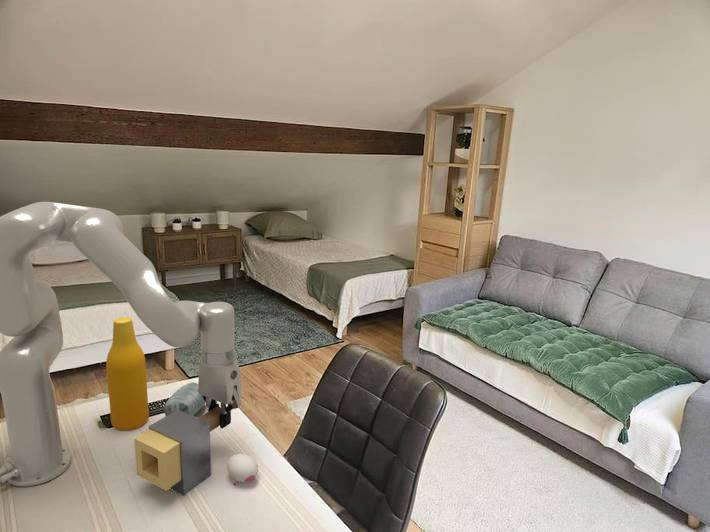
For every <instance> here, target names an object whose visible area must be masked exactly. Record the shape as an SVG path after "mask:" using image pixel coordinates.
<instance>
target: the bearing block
mask: <svg viewBox="0 0 710 532" xmlns="http://www.w3.org/2000/svg"><path fill="white" fill-rule="evenodd" d="M150 429H151V430H153V431H155V432H157V433H159V434H161V435H164V436H166V437H168V438H170V439H172V440H174V441H176V442H179V443H180V462H181V480H180V481H179V482H177V483H176V484H175V485H173V486H172V487H171V488H169V490H172V491H174V492H176V493H178V494H180V495H182V496H183V497H185V496H186V495H188V494H189V493H190V492H191V491H193V490H194V489H195V488H196V487H197V486H199V485H200V484H201V483H203V482H204V481H205V480H206V479H208V478H210V476H212V462H211V460H212V459H211V458H212V456H211V451H212V450H211V432H210V423H208V422H206V421H204V420H201V419H199V417H197V416H195V415H194V416H192V415H189V414H187V413H185V412H182V411H180V410H176V411H174V412H173V413H171V414H169V415H167V416H164V417H162V418H161V419H158V420H157V421H156V422H153V423H152V424H150V425H148V430H150Z"/></svg>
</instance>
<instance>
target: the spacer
mask: <svg viewBox="0 0 710 532" xmlns="http://www.w3.org/2000/svg"><path fill="white" fill-rule="evenodd" d="M133 440H134V441H133V442H134V453H135V454H134V455H135V465H136V469H135V470H136V475H137V476H138V477H140V478H142V479H143V480H145V481H147V482H149V483H151V484H153V485H154V486H157V487H158V488H160V489H162V490H164V491H166V492H167V491H168V490H170V488H171V487H172V486H173V485H175V484H176V483H177V482H179V481H180V480H181V462H180V443H179V442H176V441H174V440H172V439H170V438H168V437H166V436H164V435H161V434H159V433H157V432H155V431H153V430H151V429H150V430H149V429H148V430H146V431H145V432H143V433H141V434H140V435H138V436H136V437H134V438H133ZM154 457H156V458H158V460H156V459H154Z"/></svg>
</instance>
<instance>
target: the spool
mask: <svg viewBox="0 0 710 532" xmlns="http://www.w3.org/2000/svg"><path fill="white" fill-rule="evenodd" d="M198 388H199V384H198V383H197V382H189V383H186V384H184V385H183V386H181V387H180V388H178V389H177V390H176V391H175V392H173V394H171V396H170V397H169V398H168V400H167V401H166V402H165V404H164V405H163V413H164V417H166V416H167V415H169V414H171V413H173V412H174V411H176V410H180V411H182V412H185V413H187V414H189V415H192V416H194V417H195V415H196V414H197V413H198V412H199V411H200V410H201V409H202V408H203V407H204V406H206V402H205V401H204V399H203V396H201V395H200V394H199V393H198Z"/></svg>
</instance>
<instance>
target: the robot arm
mask: <svg viewBox="0 0 710 532" xmlns="http://www.w3.org/2000/svg"><path fill="white" fill-rule="evenodd" d="M123 233H124V225H123V223H122V220H121V219H120V217H118V215H117V214H115V212H113V211H111V210H107V209H105V208H100V207H99V208H98V207H93V206H83V205H76V204H69V203H60V202H54V201H39V202H37V201H36V202H34V203H30V204H28V205H25V206H22V207H20V208H17V209H14V210H12V211H9V212H8V213H5V214H3V215H1V216H0V334H1V335H2V336H6V337H9V338H11V337H13V338H11V340H9V342H8V343H6V345H5V346H3V348H2V349H0V395H1V400H2V405H3V412H4V416H5V417H4V418H5V423H6V428H7V429H6V430H7V436H8V442H9V443H8V444H9V449H10V450H9V451H10V456H8V457H6V463H5V464H3V465H2V467H0V482H2V484H3V483H5V482H7V483H8V484H10V485H13V486H15V487H30V486H31V487H32V486H37V485H41V484H44V483H46V482H49V481H51V480H53V479H55V478H57V477H59V476H60V475H61V474H62V473H64V472H65V471H66V470H67V469H68V468H69V466H70V465H71V463H72V455H71V453H70V451H69V450H68V449H67V448H64V447H63V446H62V437H61V428H60V420H59V414H58V413H59V411H58V404H57V403H58V401H57V395H56V389H55V387H54V386H55V385H54V383H53V381H52V378H51V375H50V369H51V366H52V365H53V363H54V362H55V360H56V359H57V358H58V356H59V355H60V353H61V351H62V349H63V347H64V346H63V345H64V335H63V328H62V322H61V315H60V309H59V303H58V298H57V295H56V293H55V291H54V289H53V288H52V286H50V285H49V284H48V283H47V282H45V281H44V280H41V279H37V278H35V269H34V267H33V264H32V262H31V259H30V257H29V256H30V254H31V253H32V252H34V251H36V250H39V249H41V248H43V247H45V246H46V245H48V244H50V243H52V242H53V241H55V242H56V241H57V242H66V243H67V242H68V243H72V244H73V246H74V247H75V248H76V250H77V251H79V252H80V253H81V254H82V256H84V257H85V258H86V259H87V260H88V261H89V262H91V264H92V265H94V267H96V268H97V269H98V270H99V271H100V272H101V273H102V274H104V275H105V276H106V277H107V278H108V280H110V281H111V282H112V283H113V284H114V285H115V286H116V287H117V288H118V290H120V292H121V293H122V295H123V297H124V299H125V300H126V301H127V304H129V306H130V308H131V309H132V310H133V312H134V313H135V314H136V315H137V317H138V318H139V320H140V321H141V322H142V323H143V324H144V325H145V326H146V327H147V328H148V329H149V330H150V331H151V332H152V333H153V334H155V336H156V337H158V338H159V339H160V341H162V342H163V343H165V344H166V345H168V346H169V347H170V346H171V347H174V348H180V349H181V348H186V347H189V346H190V345H192V344H193V343H194V342H195V341H196V339H197V337H198V335H199V333H200V341H201V343H200V345H201V346H200V349H201V357H200V360H199V366H198V383H197V384H199V388H198V393H199V394H200V395H201V396H203V399H204V401H205V402H206V403H205V407H206V408H207V412H209V411H210V410H212V409H214V408H215V407H217V406H219V407H221V412H222V413H220V426H219V428H220V429H224V428H226V427H228V425H230V424H231V423H232V410H236V409H238V408H240V407H242V402H241V399H240V398H241V397H242V380H241V379H242V378H241V371H240V366H239V362H238V360H237V358H238V356H237V355H236V353H235V351H236V349H235V348H236V347H235V342H236V341H235V338H236V337H235V336H236V335H235V309H234V306H233V305H232V304H230V303H228V302H226V301H212V302H202V301H201V302H200V301H194V300H178V301H175V302H174V301H173V300H172V299H171V298H170V297H169V295H168V294H167V293H166V290H164V287H163V286H162V284H161V282H160V279H159V277H158V273H157V270H156V268H155V265H154V264H153V262H152V261H151V260H150V259H149V258H148V257H147V256H146V255H145V254H144V253H143V252H142V251H141V250H140V249H139V248H138V247H137V246H136V245H135V244H134V243H133V242H132V241H130V240H129V238H128V237H127V236H126V235H124V234H123Z"/></svg>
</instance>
